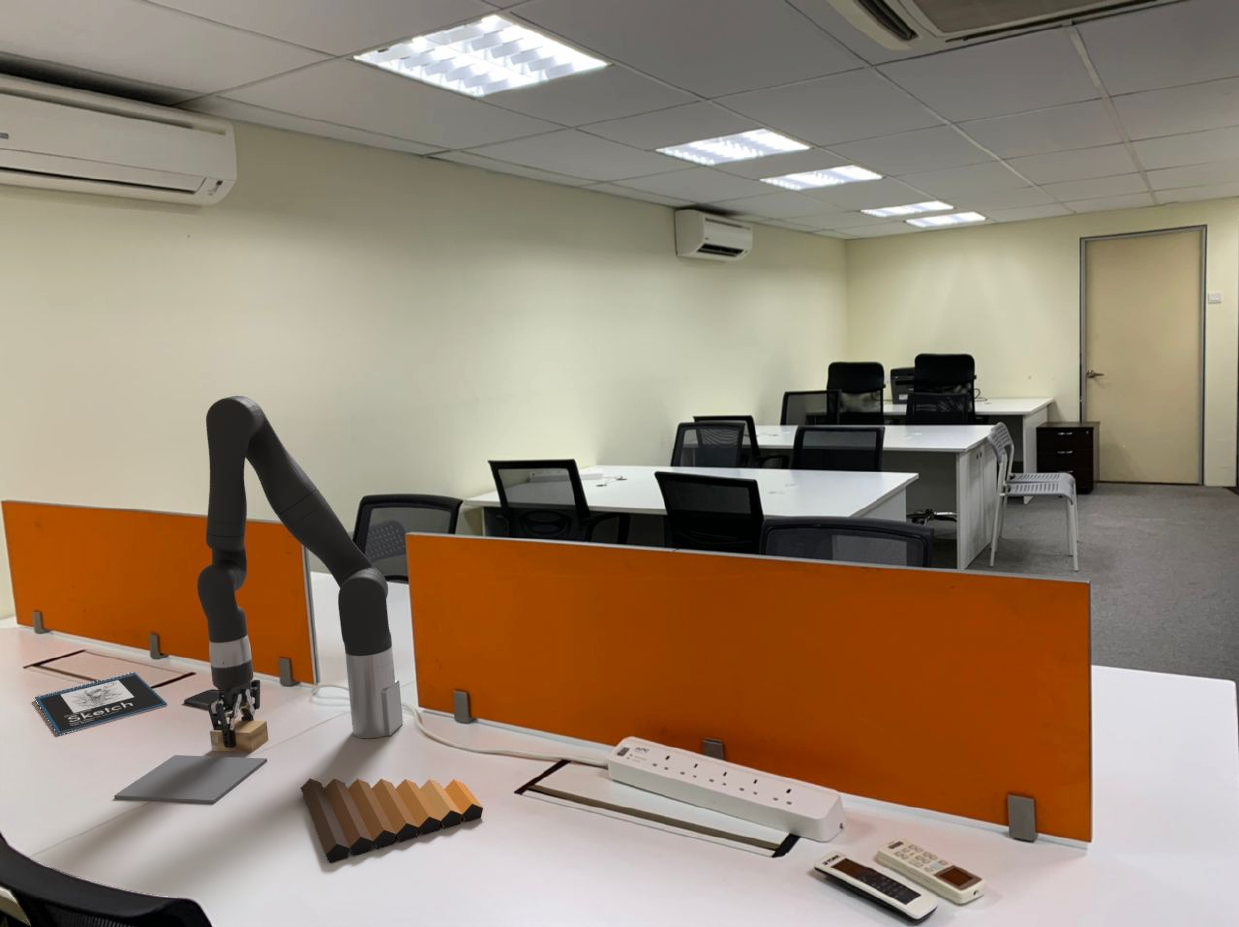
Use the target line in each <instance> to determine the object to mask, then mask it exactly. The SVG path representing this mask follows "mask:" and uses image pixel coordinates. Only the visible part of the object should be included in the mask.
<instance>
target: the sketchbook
mask: <svg viewBox="0 0 1239 927" xmlns="http://www.w3.org/2000/svg"><path fill="white" fill-rule="evenodd" d="M35 699H36V701H37V702H38V704H39V706H40V707H41V709H42V711H43V712H44V714H45V715H44V714H43V715H44V717H45V716H46V717H47V719H48V720H49V722H50V723H49V722H48V723H49V725H50V724H51V725H52V726H53V728H54V729H55V731H56V732H55V731H54V732H55V734H56V733H57V734H58V735H61V734H64V733H68V732H72V731H75V730H79V731H81V730H80V729H83V730H85V729H84V728H86V729H89V728H88V727H90V728H92V727H91V726H93V727H97V726H100V725H104V724H108V723H110V722H114V721H118V719H119V720H121V718H122V719H126V718H130V717H133V716H136V714H137V715H139V714H143V713H147V712H150V711H153V710H158V709H161V708H165V707H167V706H168V703H167V701H165V700H164V698H162V697H161V696H160V694H158V693H157V692H156V691H155V690H154V689H153V688H152V687H151V686H150V685H149V684H148V683H147V682H146V681H145V680H143V679H142V677H141V676H140V675H139V674H137V673H136V672H132V671H127V674H126V673H125V672H124V673H123V675H122V674H121V673H120V674H119V675H118V674H115V677H114V676H113V675H112V677H111V678H110V676H108V679H106V678H105V677H104V679H103V680H102V678H100V680H99V681H98V679H96V681H94V680H92V682H90V681H88V683H86V682H84V684H82V683H80V685H78V684H77V685H76V686H74V685H72V687H70V686H68V688H67V689H66V687H64V689H62V688H60V689H59V690H58V689H55V692H54V690H52V691H51V693H50V692H49V691H48V692H47V694H46V693H45V692H44V693H43V694H42V695H41V693H39V694H37V696H35V697H34V700H35ZM39 706H38V707H39ZM41 709H40V710H41ZM42 711H41V712H42ZM43 712H42V713H43ZM46 717H45V718H46ZM125 717H126V718H125ZM47 719H46V720H47ZM48 720H47V721H48ZM107 722H108V723H107ZM51 725H50V726H51ZM52 726H51V727H52ZM53 728H52V729H53ZM54 729H53V730H54ZM75 732H76V731H75ZM72 733H73V732H72ZM57 734H56V735H57ZM68 734H69V733H68ZM58 735H57V736H58ZM61 736H62V735H61Z"/></svg>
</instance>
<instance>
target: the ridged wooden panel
mask: <svg viewBox="0 0 1239 927" xmlns="http://www.w3.org/2000/svg"><path fill="white" fill-rule="evenodd" d="M300 791H301V793H302V796H303V799H304V802H305V804H306V807H307V809H308V812H309V813H308V814H309V816H310V817H311V820H312V823H313V826H314V828H315V831H316V833H317V836H318V839H319V842H320V844H321V847H322V849H323V850H322V851H323V852H324V855H325V857H326V860H327V861H328V863H329V864H334V863H338V862H341V861H344V860H348V857H349V852H351V855H352V856H353V857H358V856H361V855H364V854H367V853H369V852H371V851H372V848H373V844H374V845H375V847H376V850H379V849H384V848H387V847H390V846H393V845H395V840H396V837H397V840H398V841H399V843H402V842H406V841H411V840H413V839H416V838H417V837H418V833H419V832H420V834H421V835H422V836H426V835H429V834H432V833H435V832H439V831H440V826H442V827H443V829H444V830H445V829H449V828H453V827H456V826H459V825H461V821H462V819H463V820H464V821H465V823H469V822H472V821H475V820H478V819H481V818H482V815H483V810H484V807H483V805H482V804H481V803H480V802H479V801H478V799H477V798H476V797H475V796H474V794H473V793H472V791H471V790H470V789H469V788H468V787H467V785H466V784H465V783H464V782H461V781H460V780H456V779H452V780H450V782H449V784H448V785H447V786H446V787H445V788H444V787H443V786H442V784H441V783H440V782H437V781H435V780H432V779H430V778H429V779H427V780H426V781H425V783H424V784H423V785H422V786H421V787H419V786H418V784H417V783H416V782H414V781H412V780H409V779H407V778H405V779H403V780H402V781H401V782H400V783H399V784H398V786H396V787H395V786H394V783H392V782H391V781H388V780H386V779H383V778H380V779H379V780H378V781H377V782H376V783H375V785H373V786H372V787H371V785H370V783H369V782H367V781H365V780H362V779H359V778H356V779H355V780H354V781H353V782H352V783H351V784H350V785H349V787H348V786H347V784H346V782H344V781H342V780H340V779H339V780H338V779H337V778H332V780H330V782H328V784H326V785H325V786H324V785H323V783H322V782H321V781H319V780H316V779H313V778H312V777H311V778H309V779H307V781H306V782H305V783H303V785H301V787H300Z"/></svg>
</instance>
